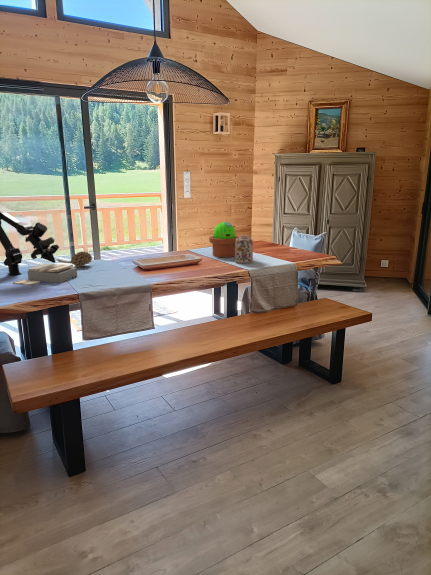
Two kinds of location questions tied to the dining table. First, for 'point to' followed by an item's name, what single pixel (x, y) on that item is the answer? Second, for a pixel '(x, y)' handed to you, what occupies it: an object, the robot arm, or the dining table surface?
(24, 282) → the plank
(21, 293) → the dining table surface
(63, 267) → the board
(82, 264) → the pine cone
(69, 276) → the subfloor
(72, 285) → the dining table surface
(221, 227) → the potted cactus
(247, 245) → the decorative jar
